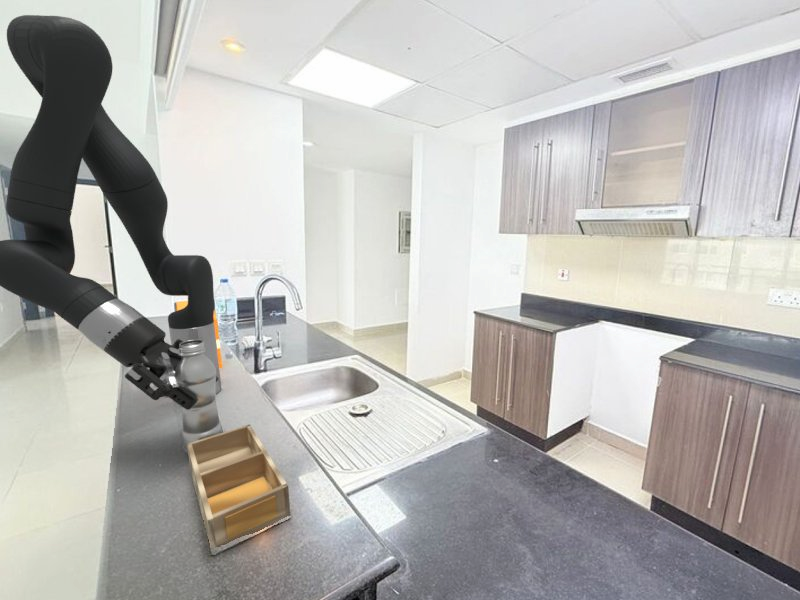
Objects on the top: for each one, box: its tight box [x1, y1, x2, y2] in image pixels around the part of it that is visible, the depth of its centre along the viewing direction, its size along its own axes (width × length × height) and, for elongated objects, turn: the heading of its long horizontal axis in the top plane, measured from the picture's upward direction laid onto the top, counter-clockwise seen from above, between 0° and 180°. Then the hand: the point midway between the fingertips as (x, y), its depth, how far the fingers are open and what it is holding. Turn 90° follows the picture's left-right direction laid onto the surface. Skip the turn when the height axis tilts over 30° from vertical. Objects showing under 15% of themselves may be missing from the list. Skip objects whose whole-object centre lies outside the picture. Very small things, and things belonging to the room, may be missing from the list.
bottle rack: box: [187, 424, 291, 549], centre depth 53 cm, size 20×10×5 cm, turn 37°
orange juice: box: [176, 300, 223, 369], centre depth 101 cm, size 8×9×20 cm
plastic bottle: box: [174, 340, 224, 454], centre depth 62 cm, size 6×7×20 cm
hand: (205, 393), depth 62 cm, fingers open, 8 cm apart
